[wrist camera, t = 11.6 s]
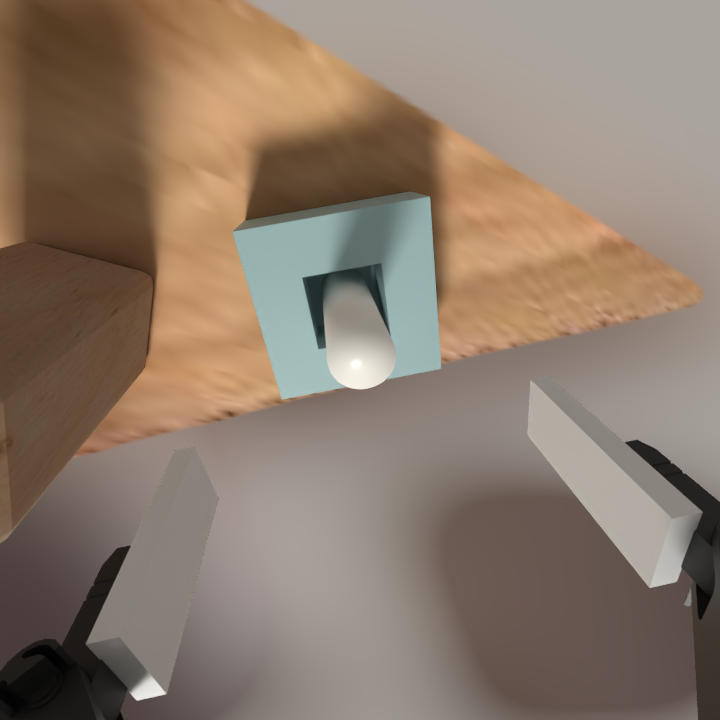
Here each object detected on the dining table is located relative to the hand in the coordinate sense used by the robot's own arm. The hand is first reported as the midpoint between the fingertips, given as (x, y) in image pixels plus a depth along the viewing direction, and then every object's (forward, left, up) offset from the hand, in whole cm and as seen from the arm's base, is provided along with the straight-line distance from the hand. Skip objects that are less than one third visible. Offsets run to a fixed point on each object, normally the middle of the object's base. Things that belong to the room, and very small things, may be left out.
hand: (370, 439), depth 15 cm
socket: (0, +1, -23) cm, 23 cm away
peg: (+1, +1, -22) cm, 22 cm away
